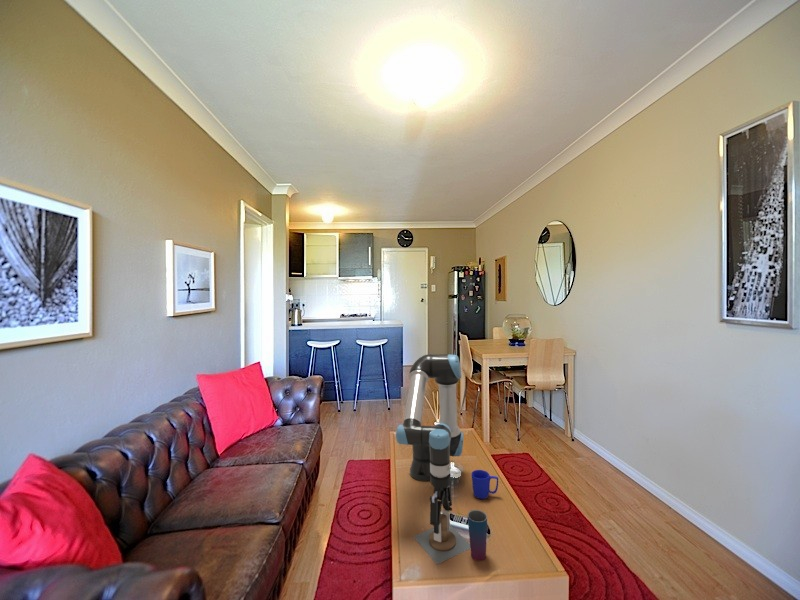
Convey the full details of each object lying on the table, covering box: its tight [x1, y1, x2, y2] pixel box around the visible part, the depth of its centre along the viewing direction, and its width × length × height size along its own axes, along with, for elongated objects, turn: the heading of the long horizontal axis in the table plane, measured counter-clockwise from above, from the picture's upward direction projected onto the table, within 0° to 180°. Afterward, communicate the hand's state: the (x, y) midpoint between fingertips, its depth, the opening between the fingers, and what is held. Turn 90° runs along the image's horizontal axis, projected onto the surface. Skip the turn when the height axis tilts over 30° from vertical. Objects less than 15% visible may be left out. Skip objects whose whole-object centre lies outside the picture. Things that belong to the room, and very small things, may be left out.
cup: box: [467, 509, 488, 562], centre depth 120 cm, size 7×7×15 cm
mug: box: [471, 469, 499, 500], centre depth 157 cm, size 8×12×10 cm
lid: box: [429, 513, 456, 551], centre depth 128 cm, size 10×10×9 cm
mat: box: [412, 525, 471, 565], centre depth 128 cm, size 16×16×1 cm
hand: (442, 533), depth 128 cm, fingers open, 7 cm apart
